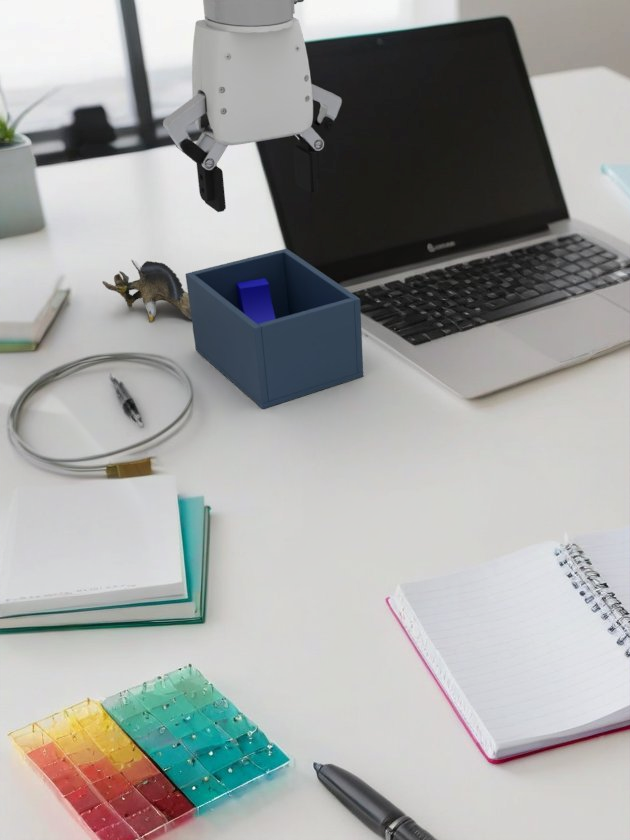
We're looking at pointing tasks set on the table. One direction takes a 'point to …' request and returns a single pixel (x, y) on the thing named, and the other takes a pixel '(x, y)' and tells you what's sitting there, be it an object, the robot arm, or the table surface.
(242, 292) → the cable clip
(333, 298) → the basket
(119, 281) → the eagle figurine
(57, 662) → the table surface
